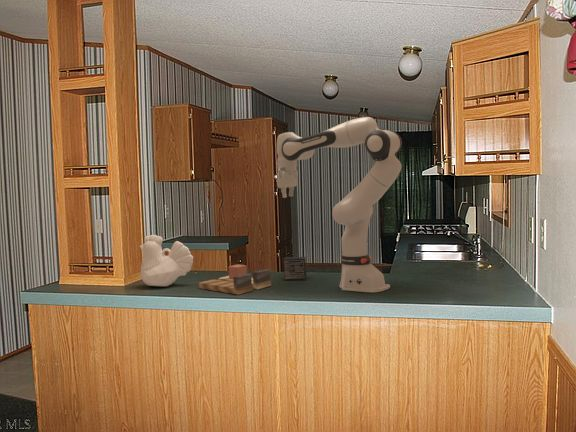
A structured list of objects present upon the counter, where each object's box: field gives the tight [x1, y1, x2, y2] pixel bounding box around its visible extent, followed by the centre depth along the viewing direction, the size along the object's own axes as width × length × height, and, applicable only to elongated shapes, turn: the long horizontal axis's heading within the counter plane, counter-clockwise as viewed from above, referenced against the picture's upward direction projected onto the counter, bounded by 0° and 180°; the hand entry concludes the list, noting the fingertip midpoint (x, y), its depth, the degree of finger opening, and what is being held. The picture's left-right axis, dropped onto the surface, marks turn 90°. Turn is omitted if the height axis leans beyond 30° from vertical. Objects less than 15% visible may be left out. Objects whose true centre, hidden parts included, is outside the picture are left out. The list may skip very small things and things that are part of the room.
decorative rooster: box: [139, 234, 194, 287], centre depth 266 cm, size 25×16×25 cm, turn 77°
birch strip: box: [217, 268, 272, 290], centre depth 262 cm, size 26×9×8 cm, turn 49°
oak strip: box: [198, 273, 254, 295], centre depth 253 cm, size 26×9×8 cm, turn 49°
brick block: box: [228, 263, 248, 279], centre depth 264 cm, size 6×6×6 cm
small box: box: [282, 256, 307, 281], centre depth 271 cm, size 11×6×10 cm, turn 84°
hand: (287, 197), depth 261 cm, fingers open, 8 cm apart
